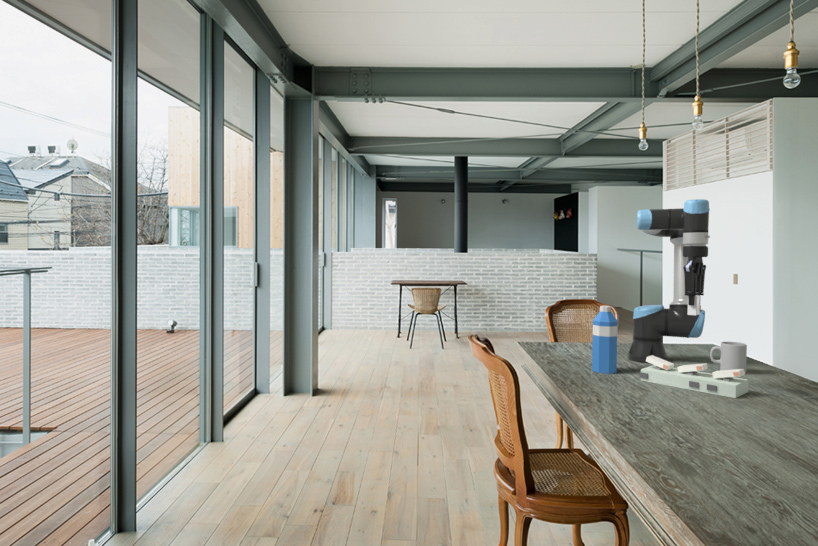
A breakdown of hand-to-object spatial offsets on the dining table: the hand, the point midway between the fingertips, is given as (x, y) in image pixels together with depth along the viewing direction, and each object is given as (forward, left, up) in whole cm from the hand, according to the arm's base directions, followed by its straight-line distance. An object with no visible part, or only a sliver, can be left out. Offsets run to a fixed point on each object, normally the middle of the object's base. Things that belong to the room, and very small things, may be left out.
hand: (693, 314), depth 177 cm
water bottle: (-31, -2, -25) cm, 40 cm away
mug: (0, +34, -25) cm, 42 cm away
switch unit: (0, 0, -24) cm, 24 cm away
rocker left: (-11, 0, -18) cm, 21 cm away
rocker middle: (0, 0, -18) cm, 18 cm away
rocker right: (+11, 0, -18) cm, 21 cm away
